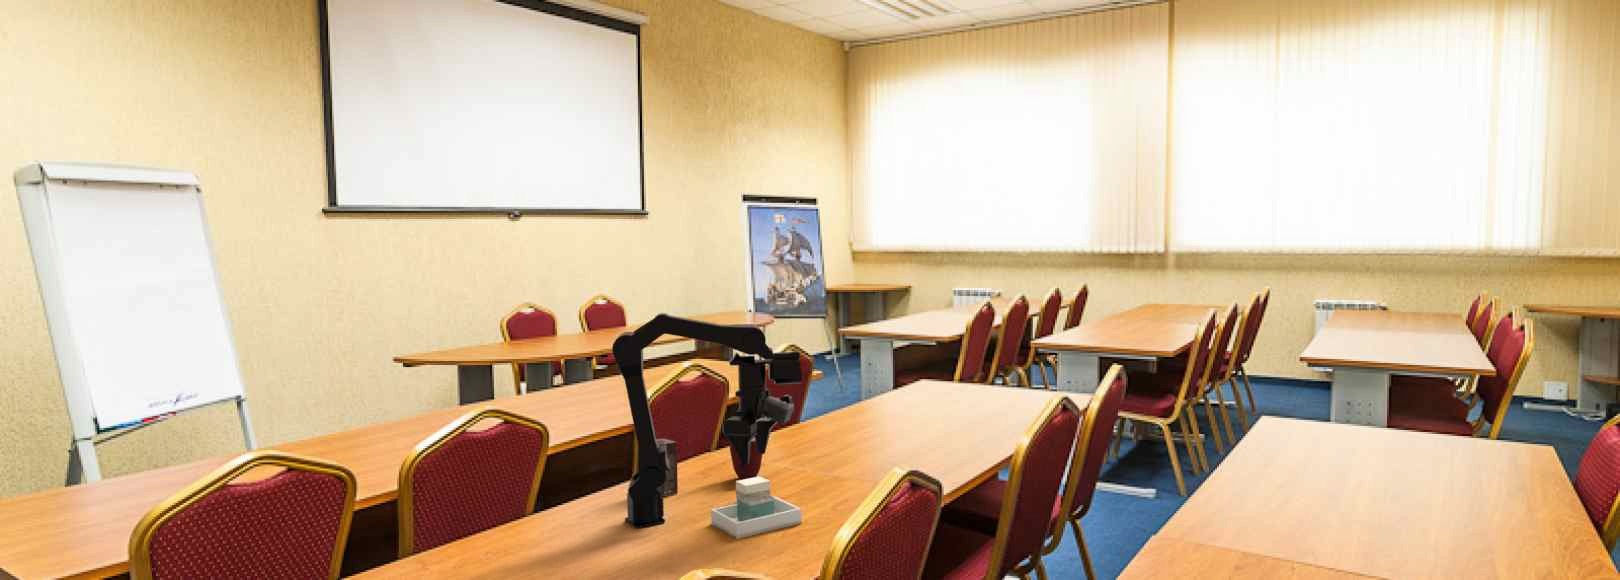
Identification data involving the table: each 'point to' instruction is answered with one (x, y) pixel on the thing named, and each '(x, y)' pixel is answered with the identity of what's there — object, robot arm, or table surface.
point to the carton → (752, 486)
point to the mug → (753, 465)
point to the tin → (754, 505)
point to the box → (670, 468)
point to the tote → (756, 519)
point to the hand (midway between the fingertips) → (754, 459)
